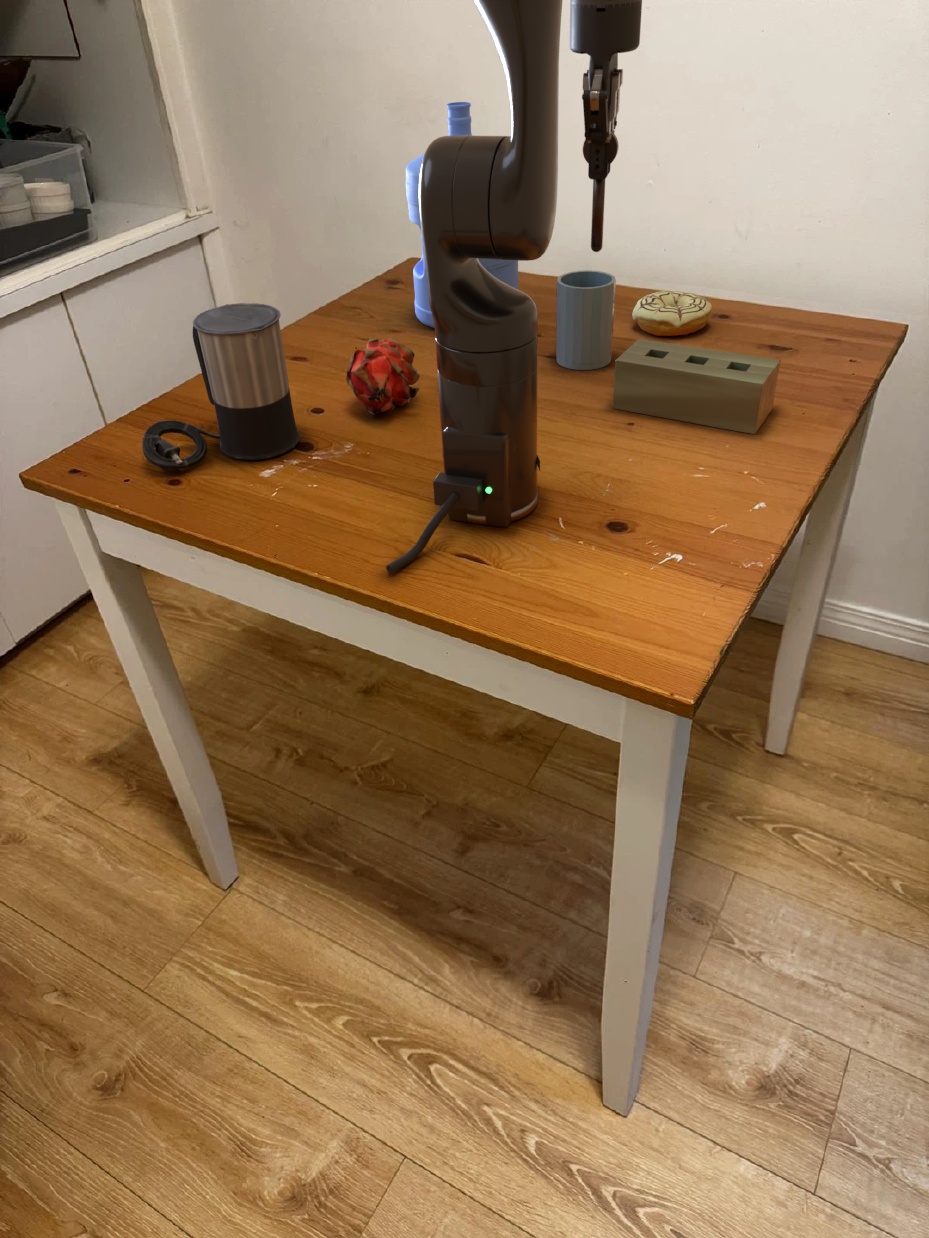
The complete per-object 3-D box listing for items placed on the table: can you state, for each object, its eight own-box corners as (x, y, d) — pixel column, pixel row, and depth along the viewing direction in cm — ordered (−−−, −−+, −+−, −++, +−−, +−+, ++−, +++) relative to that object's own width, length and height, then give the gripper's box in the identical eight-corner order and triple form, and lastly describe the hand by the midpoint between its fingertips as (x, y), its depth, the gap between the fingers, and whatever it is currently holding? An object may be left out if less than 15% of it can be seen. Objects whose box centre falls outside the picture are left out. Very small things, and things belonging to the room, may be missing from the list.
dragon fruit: (398, 394, 119) (389, 448, 111) (340, 361, 116) (326, 414, 108) (432, 345, 114) (425, 398, 105) (373, 309, 111) (361, 360, 102)
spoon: (613, 250, 112) (619, 127, 104) (612, 254, 111) (618, 130, 103) (581, 249, 113) (584, 127, 105) (579, 253, 112) (582, 130, 104)
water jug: (538, 306, 139) (539, 97, 122) (484, 340, 129) (478, 116, 112) (452, 293, 146) (441, 93, 129) (395, 324, 136) (375, 111, 119)
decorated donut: (618, 330, 130) (620, 303, 127) (658, 308, 136) (660, 282, 134) (683, 344, 124) (686, 317, 122) (722, 321, 130) (725, 295, 128)
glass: (604, 372, 118) (608, 290, 112) (549, 367, 120) (550, 286, 114) (616, 352, 123) (621, 272, 117) (563, 347, 125) (565, 269, 119)
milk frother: (317, 435, 107) (298, 308, 98) (225, 495, 96) (193, 359, 87) (226, 413, 113) (200, 292, 104) (130, 467, 102) (92, 338, 93)
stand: (754, 434, 102) (763, 383, 98) (612, 408, 109) (615, 360, 105) (772, 409, 107) (780, 359, 103) (635, 385, 114) (638, 338, 110)
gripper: (581, -5, 102) (576, 164, 113) (559, 5, 92) (557, 190, 103) (648, -8, 101) (637, 164, 111) (634, 2, 90) (624, 191, 101)
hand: (599, 176), depth 107 cm, fingers closed on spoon, 1 cm apart
